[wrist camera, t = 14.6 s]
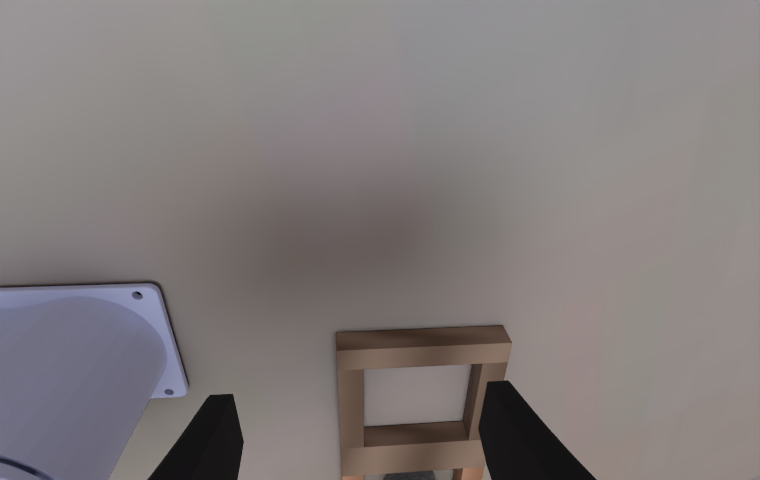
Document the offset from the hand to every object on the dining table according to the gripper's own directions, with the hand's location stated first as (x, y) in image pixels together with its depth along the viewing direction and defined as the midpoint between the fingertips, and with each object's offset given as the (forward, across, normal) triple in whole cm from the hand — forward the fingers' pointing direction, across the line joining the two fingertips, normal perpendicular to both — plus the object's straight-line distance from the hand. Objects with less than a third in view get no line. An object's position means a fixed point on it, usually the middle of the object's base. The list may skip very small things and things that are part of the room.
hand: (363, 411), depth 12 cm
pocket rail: (+10, -4, +16) cm, 20 cm away
